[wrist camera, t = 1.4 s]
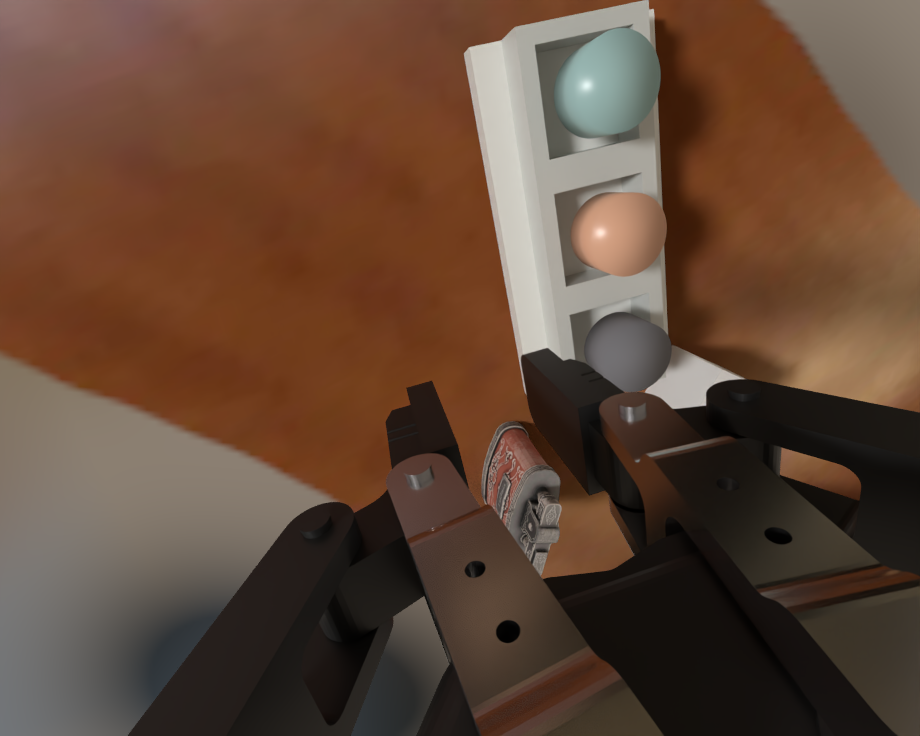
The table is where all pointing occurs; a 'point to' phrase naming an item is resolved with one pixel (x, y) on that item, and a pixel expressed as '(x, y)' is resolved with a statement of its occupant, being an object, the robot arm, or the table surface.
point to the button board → (559, 182)
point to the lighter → (522, 491)
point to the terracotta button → (619, 232)
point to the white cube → (688, 380)
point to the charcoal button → (628, 351)
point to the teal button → (608, 84)
